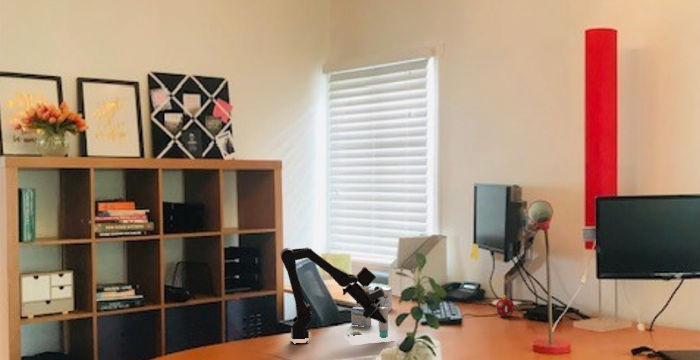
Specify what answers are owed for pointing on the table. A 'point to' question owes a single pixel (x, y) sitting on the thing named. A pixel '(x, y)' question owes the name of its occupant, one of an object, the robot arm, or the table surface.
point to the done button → (356, 332)
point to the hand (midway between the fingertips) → (386, 321)
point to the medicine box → (359, 317)
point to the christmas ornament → (505, 307)
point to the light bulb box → (385, 297)
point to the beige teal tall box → (383, 326)
